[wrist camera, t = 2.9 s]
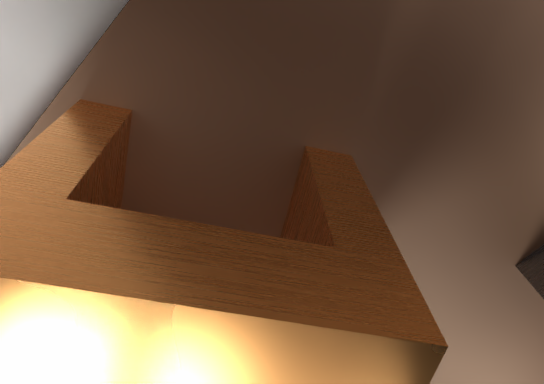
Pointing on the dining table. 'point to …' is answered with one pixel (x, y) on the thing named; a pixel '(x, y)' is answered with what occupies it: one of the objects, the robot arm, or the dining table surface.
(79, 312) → the block
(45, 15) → the dining table surface
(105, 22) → the dining table surface
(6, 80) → the dining table surface
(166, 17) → the walnut board
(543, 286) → the grey flat rectangular block
